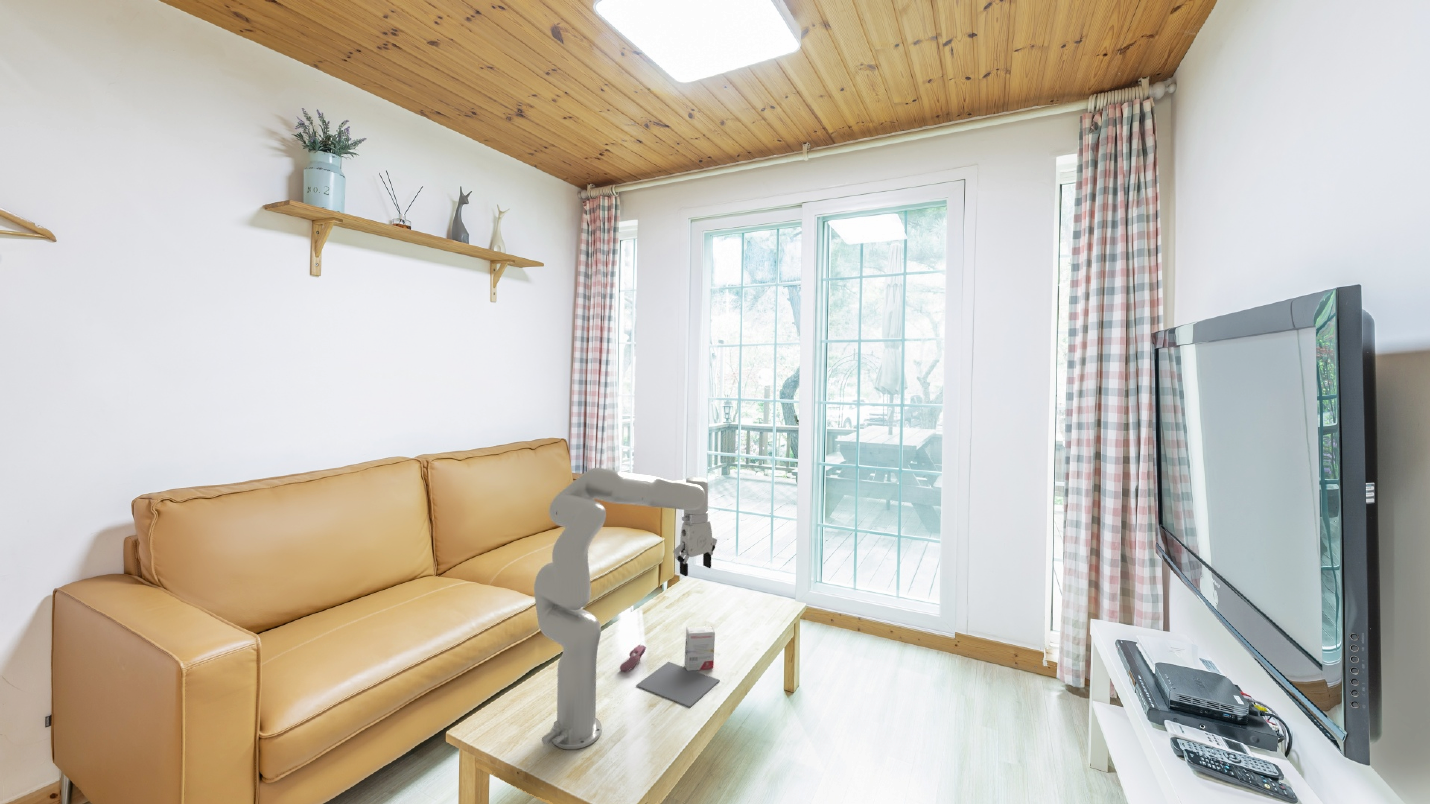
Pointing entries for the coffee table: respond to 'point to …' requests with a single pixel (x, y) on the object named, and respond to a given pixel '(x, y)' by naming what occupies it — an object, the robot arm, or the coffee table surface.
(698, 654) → the ink box
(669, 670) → the mat
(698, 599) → the coffee table surface
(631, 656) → the video game controller
